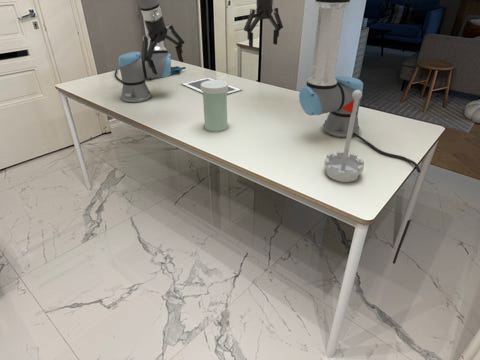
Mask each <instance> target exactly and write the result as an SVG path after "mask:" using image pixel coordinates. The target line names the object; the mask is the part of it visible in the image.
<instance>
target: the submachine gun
mask: <svg viewBox="0 0 480 360" xmlns="http://www.w3.org/2000/svg"><path fill="white" fill-rule="evenodd" d="M186 69H187V68H186V66H183V67H181V66H178V65H176V66H171V73H170V75H173V74H179V73H181V72H182V71H183V70H186ZM145 80H150V81H152V78H145Z"/></svg>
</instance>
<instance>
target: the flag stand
mask: <svg viewBox="0 0 480 360" xmlns="http://www.w3.org/2000/svg"><path fill="white" fill-rule="evenodd" d="M352 97H353V98H354V100H353V101H351V102H350V103H348V104H347V105H345V106H344V107H342V108H341V109H343V110H346V111H348V112H350V113H351V117H350V122H349V127H348V133H347V138H345V144H344V149H343V150H340V151H338V150H337V151H336V153H335V154H334V153H333V152H329V153H327V154H326V158H325V159H324V162H323V163H324V168H325V169H326V170H325V173H326V175H327V176H328V178H330V179H332V180H334V181H337V182H341V183H350V182H354V181H356V180H357V179H358V178H359V175H360V174H361V173H362V172H363V171H364V166H365V161H364V159H363V158H358V155H357V154H356V153H352V152H350V154H349V151H350V147H351V142H352V138H353V137H352V132H353V127H354V122H355V117H356V112H357V107H358V101H359V99H360V98H361V99H362V98H363V92H361V91H360V90H355V91H354V92H353V94H352Z"/></svg>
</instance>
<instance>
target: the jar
mask: <svg viewBox="0 0 480 360" xmlns="http://www.w3.org/2000/svg"><path fill="white" fill-rule="evenodd" d="M202 101H203V114H204V115H203V118H204V119H203V120H204V128H205V130H207V131H208V132H217V133H218V132H223V131H225V130H227V128H228V94H227V91H226V92H224V93H220V94H207V93H204V92H203V93H202Z"/></svg>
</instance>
